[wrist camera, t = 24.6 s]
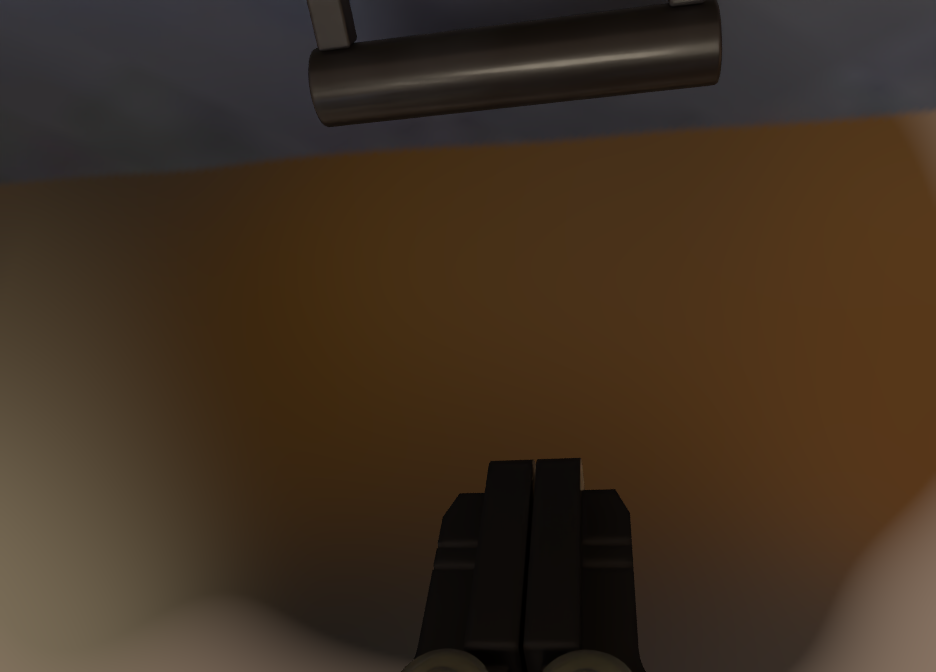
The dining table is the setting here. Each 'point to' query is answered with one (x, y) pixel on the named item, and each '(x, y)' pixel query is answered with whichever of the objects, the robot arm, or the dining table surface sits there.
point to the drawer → (509, 61)
